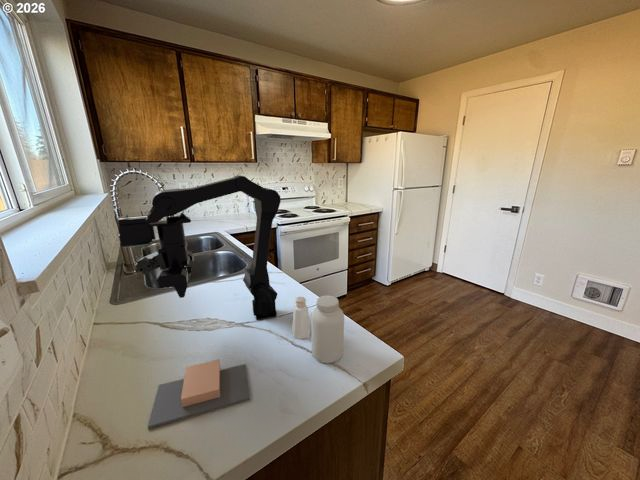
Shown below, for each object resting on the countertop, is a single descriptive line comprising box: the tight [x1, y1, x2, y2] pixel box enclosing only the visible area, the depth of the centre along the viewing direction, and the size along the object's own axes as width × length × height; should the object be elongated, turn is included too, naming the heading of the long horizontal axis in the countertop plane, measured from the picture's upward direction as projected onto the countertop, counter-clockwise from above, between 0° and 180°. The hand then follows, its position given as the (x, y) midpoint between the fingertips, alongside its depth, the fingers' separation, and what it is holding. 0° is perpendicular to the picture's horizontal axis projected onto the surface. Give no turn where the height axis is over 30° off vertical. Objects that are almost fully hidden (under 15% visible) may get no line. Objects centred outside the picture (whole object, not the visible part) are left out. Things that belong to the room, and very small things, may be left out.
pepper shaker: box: [291, 296, 312, 340], centre depth 74 cm, size 5×5×11 cm
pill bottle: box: [310, 295, 345, 364], centre depth 65 cm, size 8×8×15 cm
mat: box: [147, 363, 250, 430], centre depth 56 cm, size 18×10×1 cm, turn 110°
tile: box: [181, 359, 221, 407], centre depth 57 cm, size 7×2×9 cm
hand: (182, 297), depth 71 cm, fingers closed
